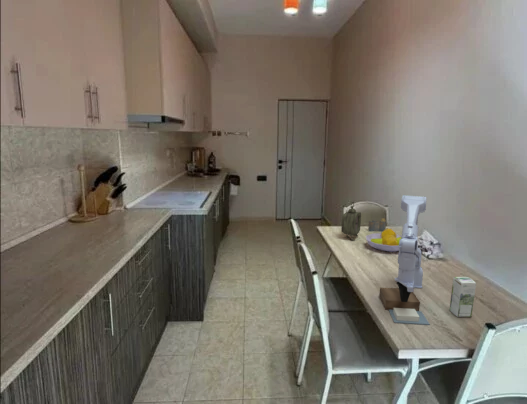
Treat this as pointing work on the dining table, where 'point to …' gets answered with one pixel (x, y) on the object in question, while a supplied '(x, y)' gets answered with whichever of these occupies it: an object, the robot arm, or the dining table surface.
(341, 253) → the dining table surface
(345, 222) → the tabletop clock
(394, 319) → the mat
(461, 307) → the syrup box
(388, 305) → the block
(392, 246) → the fruit bowl
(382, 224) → the architectural model on board
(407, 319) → the tile
